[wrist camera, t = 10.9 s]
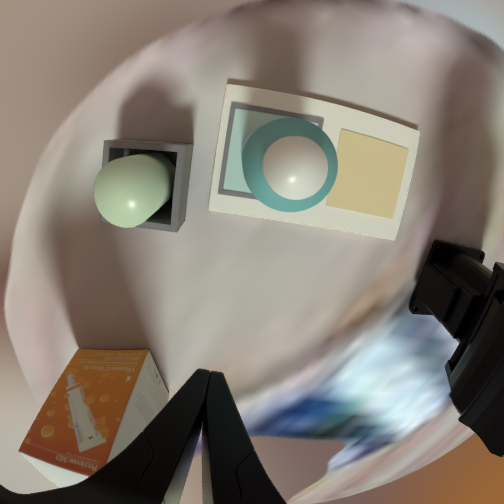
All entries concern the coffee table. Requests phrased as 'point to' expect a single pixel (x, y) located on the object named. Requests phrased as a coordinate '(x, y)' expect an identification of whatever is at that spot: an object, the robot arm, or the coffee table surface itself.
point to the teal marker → (289, 164)
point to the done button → (134, 188)
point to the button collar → (181, 183)
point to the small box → (94, 413)
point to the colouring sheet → (348, 154)
